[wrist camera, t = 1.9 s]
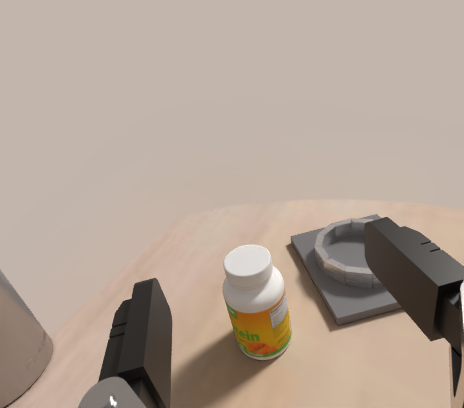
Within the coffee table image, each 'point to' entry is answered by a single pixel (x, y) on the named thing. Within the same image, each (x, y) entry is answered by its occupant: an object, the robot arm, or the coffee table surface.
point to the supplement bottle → (256, 302)
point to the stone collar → (336, 269)
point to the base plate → (334, 293)
